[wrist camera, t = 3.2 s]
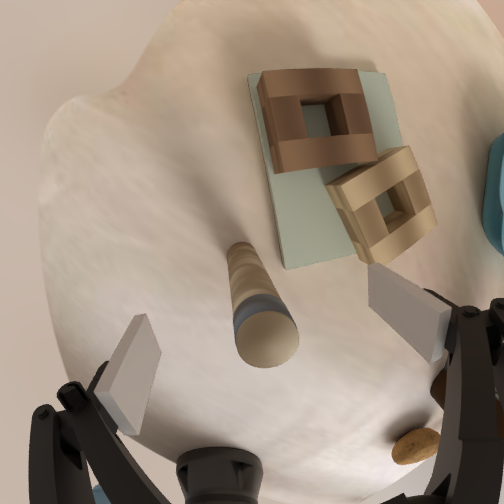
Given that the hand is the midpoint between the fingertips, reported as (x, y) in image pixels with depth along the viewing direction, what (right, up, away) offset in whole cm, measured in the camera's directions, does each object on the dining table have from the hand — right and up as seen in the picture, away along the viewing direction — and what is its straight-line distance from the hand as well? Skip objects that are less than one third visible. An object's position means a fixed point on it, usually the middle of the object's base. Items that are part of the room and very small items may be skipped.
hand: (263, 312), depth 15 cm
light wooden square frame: (+13, +9, +12) cm, 19 cm away
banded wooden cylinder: (-2, +3, +13) cm, 13 cm away
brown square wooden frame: (+5, +16, +9) cm, 19 cm away
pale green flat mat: (+9, +13, +12) cm, 19 cm away
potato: (+34, -37, +27) cm, 57 cm away
